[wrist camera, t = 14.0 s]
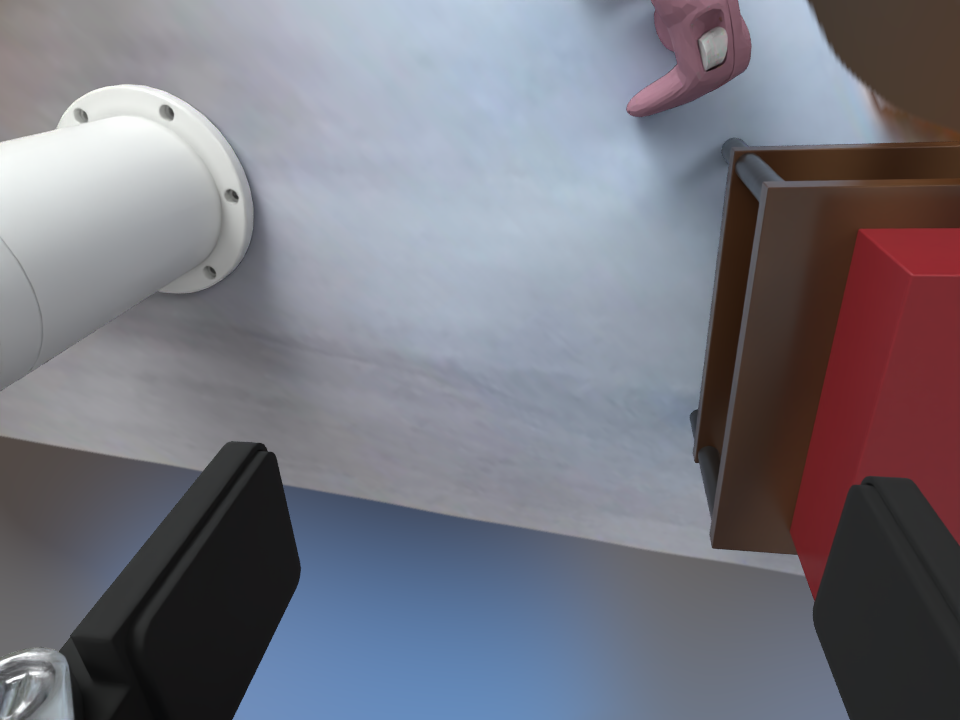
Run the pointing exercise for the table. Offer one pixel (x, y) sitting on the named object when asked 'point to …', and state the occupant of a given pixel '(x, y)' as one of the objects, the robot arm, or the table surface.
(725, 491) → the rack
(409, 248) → the table surface
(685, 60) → the video game controller
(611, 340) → the table surface
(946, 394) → the red rectangular block
